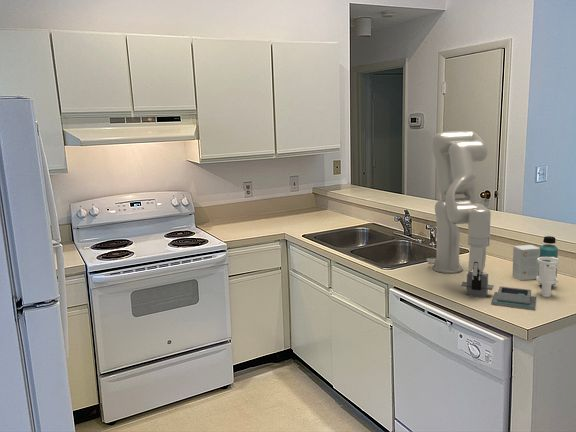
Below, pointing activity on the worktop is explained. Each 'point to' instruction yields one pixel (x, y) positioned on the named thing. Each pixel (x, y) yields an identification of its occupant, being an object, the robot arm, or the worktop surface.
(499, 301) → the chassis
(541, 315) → the worktop surface
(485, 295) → the lever
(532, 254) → the small box
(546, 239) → the beverage bottle
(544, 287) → the clear white hollow cylinder
